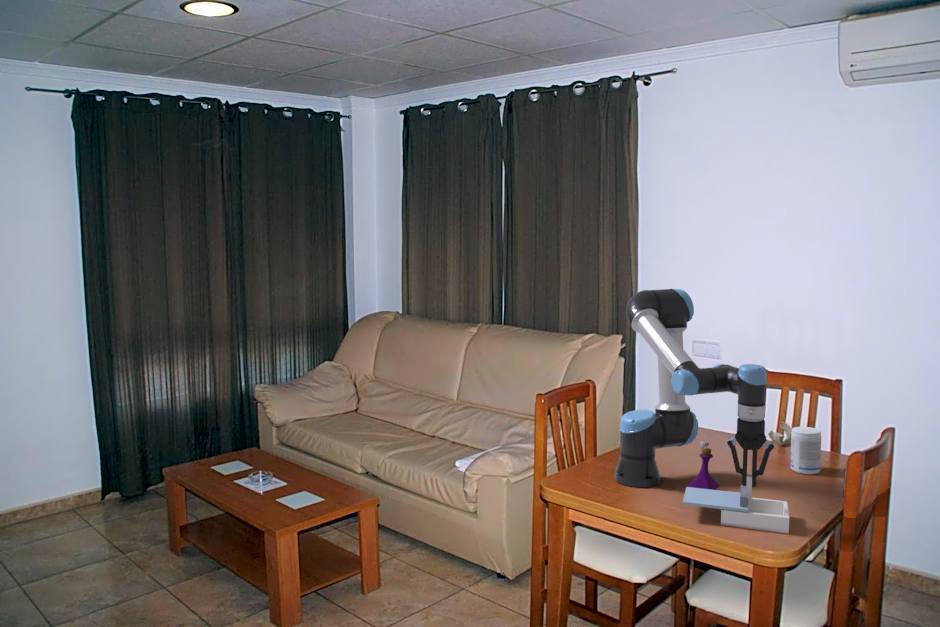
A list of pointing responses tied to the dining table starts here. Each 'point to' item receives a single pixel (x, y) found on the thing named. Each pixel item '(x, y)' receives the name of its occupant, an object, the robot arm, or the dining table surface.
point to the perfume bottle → (704, 471)
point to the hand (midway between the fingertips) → (748, 496)
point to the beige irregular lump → (778, 437)
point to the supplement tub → (805, 450)
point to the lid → (717, 498)
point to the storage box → (759, 516)
